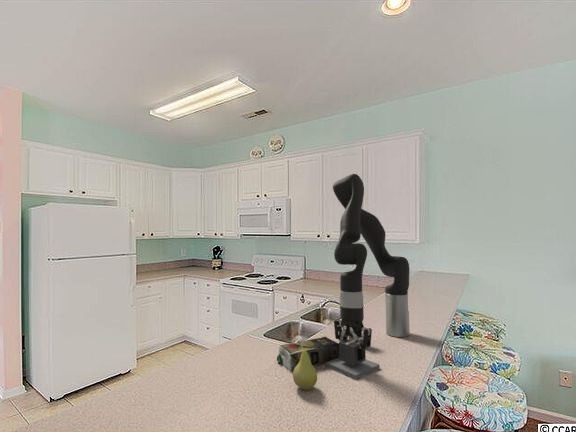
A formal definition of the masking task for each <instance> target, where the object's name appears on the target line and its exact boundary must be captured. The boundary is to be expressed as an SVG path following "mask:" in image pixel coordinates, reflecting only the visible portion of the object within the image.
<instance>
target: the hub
mask: <svg viewBox="0 0 576 432" xmlns="http://www.w3.org/2000/svg"><path fill="white" fill-rule="evenodd" d="M325 366H326V367H327V368H330V369H331V370H334V371H336V372H337V373H340V374H343V375H345V376H347V377H349V378H351V379H353V380H358V379H359V378H362V377H364V376H366V375H369V374H371V373H373V372H375V371H377V370H380V364H379V363H376V362H374V361H371V360H368V359H366V360H365V361H363V362H361V363H358V364H356V365H351V364H349V363H346V362H344V361H342V360H339V358H336V359H334V360H331V361H329V362H326V363H325Z"/></svg>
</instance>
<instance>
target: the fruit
mask: <svg viewBox="0 0 576 432" xmlns="http://www.w3.org/2000/svg"><path fill="white" fill-rule="evenodd" d="M296 342H298V343H299V345H300V346H301V348H302V354H301V358H300V362H299V363H298V365H297V366H296V367H295V369H294V370H292V380H293V382H294V384H295V386H297V387H298V388H299V389H301V390H303V391H308V390H311V389H313V388H314V387H315V386H316V384H317V381H318V373H317V371H316V369H315V367H314V366H312V364H311V361H310V359H309V356H308V353H307V351H306V350H305V349H303V347H302V345H301V343H300V341H299V340H297V341H296Z"/></svg>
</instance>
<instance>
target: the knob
mask: <svg viewBox="0 0 576 432" xmlns="http://www.w3.org/2000/svg"><path fill="white" fill-rule="evenodd" d="M338 343H339V360H342V361H344V362H346V363H349V364H351V365H356V364H358V363H361V362H363V361H365V360H367V357H366V354H367V353H366V352H365V359H364V360H362V361H359V360H358V346H357V343H356V342H355V341H354V339H352V338H350V339H349V338H348V339H347V340H344V341H341V342H340V341H338ZM360 343H361V342H360Z"/></svg>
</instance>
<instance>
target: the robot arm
mask: <svg viewBox="0 0 576 432" xmlns="http://www.w3.org/2000/svg"><path fill="white" fill-rule="evenodd" d="M332 190H333V193H334V195H335V197H336V198H337V200H338V201H339V203H340V205H342V207H343V208H344V209H345V210H344V211H343V213H342V215H341V218H340V223H339V226H340V230H339V231H340V232H339V238H338V240H337V244H336V246H335V249H334V252H333V254H334V260H335V262H336V263H337V264H339V265H344V266H345V265H346V266H347V265H350V266H351V265H353V266H356V267H355V268H353V270H348V271H344V272H342V273H341V274H340V278H339V279H340V280H339V281H340V285H339V286H340V292H339V293H340V294H339V313H340V314H339V316H340V317H339V318H340V319H336V320H334V321H333V326H334V327H333V328H334V336H335V339H336V340H338V342H341V341H344V340H347V339H349V336H351V337H353V338H354V341H355V342H356V343H357V346H358V360H359V361H362V360H364V359H365V353H366V349H368V348H370V347H371V345H372V331H373V330H372V328H370V327H369V328H367V327H365V326H364V324H363V323H364V316H365V315H364V293H363V273H364V268H365V264H366V261H367V256H368V249H370V251H371V253H372V254H373V257H374V258H375V261H376V263H377V265H378V267H379V269H380V271H381V273H382V274H383V275H384V276H386V277H389V278H394V279H393V283H392V284H389V285H386V286H385V288H384V289H385V290H384V293H385V332H386V334H387V335H388V336H392V337H395V338H406V337H409V336H410V311H409V295H408V294H409V288H410V263H409V260H408V259H407V258H406V257H404V256H398V255H397V256H395V255H394V256H393V255H391V254H390V253H389V251H388V250H387V248H386V246H385V243H386V230H385V228H384V226H383V225H382V223H381V221H380V220H379V218H378V217H377V216H376V215H375V214H372V213H371V212H369V211H367V210H365V209H363V208H362V207H363V204H364V203H363V201H364V195H365V186H364V182H363V180H362V178H361V177H360V176H359V175H358V173H352V174H349V175H347V176H344V177H342V178H340V179H338V180H336V181H334V182H333V183H332ZM361 237H362V238H363V240H364V241H365V242H366V244H367V247H368V249H367V247H366V245H364V244H363V243H357V242H359V241H360V239H361ZM358 336H359V338H358ZM360 342H361V343H360Z"/></svg>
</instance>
